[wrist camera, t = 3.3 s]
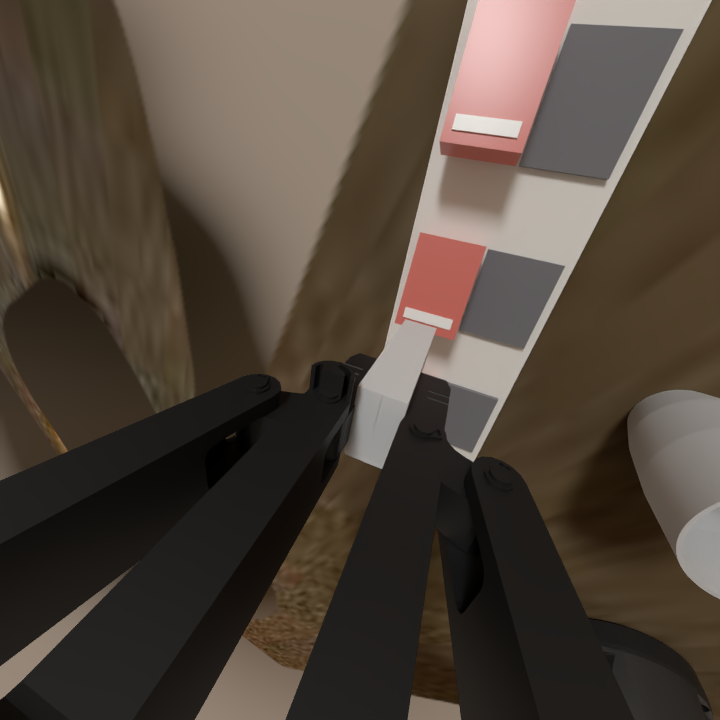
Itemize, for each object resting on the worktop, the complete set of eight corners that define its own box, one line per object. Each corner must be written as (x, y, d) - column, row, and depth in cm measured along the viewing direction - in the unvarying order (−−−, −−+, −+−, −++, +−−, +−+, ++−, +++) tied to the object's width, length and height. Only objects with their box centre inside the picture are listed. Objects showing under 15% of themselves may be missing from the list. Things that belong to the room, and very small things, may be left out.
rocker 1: (453, 336, 18) (453, 340, 17) (398, 320, 19) (394, 322, 18) (484, 250, 17) (486, 246, 15) (422, 236, 17) (419, 231, 16)
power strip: (447, 485, 30) (443, 522, 26) (366, 451, 32) (351, 481, 28) (679, 5, 14) (752, -73, 10) (481, -1, 16) (483, -69, 12)
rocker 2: (515, 166, 14) (522, 152, 13) (440, 154, 15) (439, 140, 13) (563, 28, 12) (577, -5, 11) (477, 24, 13) (480, -7, 12)
